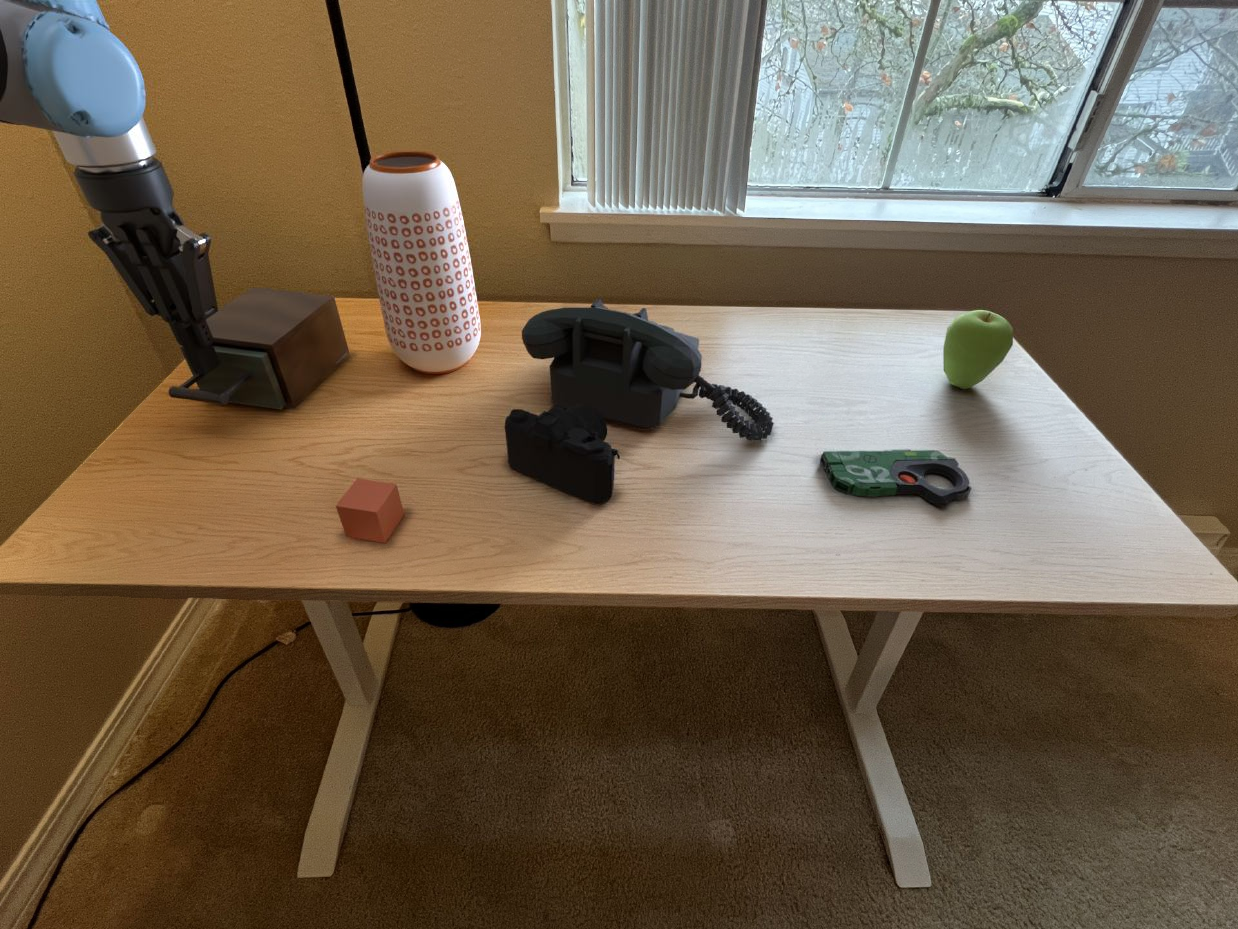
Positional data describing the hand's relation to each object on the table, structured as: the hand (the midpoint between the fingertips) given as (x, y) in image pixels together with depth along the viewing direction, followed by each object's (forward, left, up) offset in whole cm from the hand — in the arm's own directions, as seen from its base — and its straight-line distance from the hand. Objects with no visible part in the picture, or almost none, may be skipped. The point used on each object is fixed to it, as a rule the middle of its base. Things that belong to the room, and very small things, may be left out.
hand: (207, 368), depth 79 cm
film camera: (+35, -29, -8) cm, 46 cm away
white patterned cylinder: (+29, +3, -8) cm, 30 cm away
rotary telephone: (+53, -21, -8) cm, 57 cm away
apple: (+94, -39, -8) cm, 102 cm away
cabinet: (+8, +9, -8) cm, 14 cm away
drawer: (+4, +5, -7) cm, 9 cm away
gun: (+68, -50, -8) cm, 85 cm away
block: (+12, -28, -8) cm, 32 cm away
